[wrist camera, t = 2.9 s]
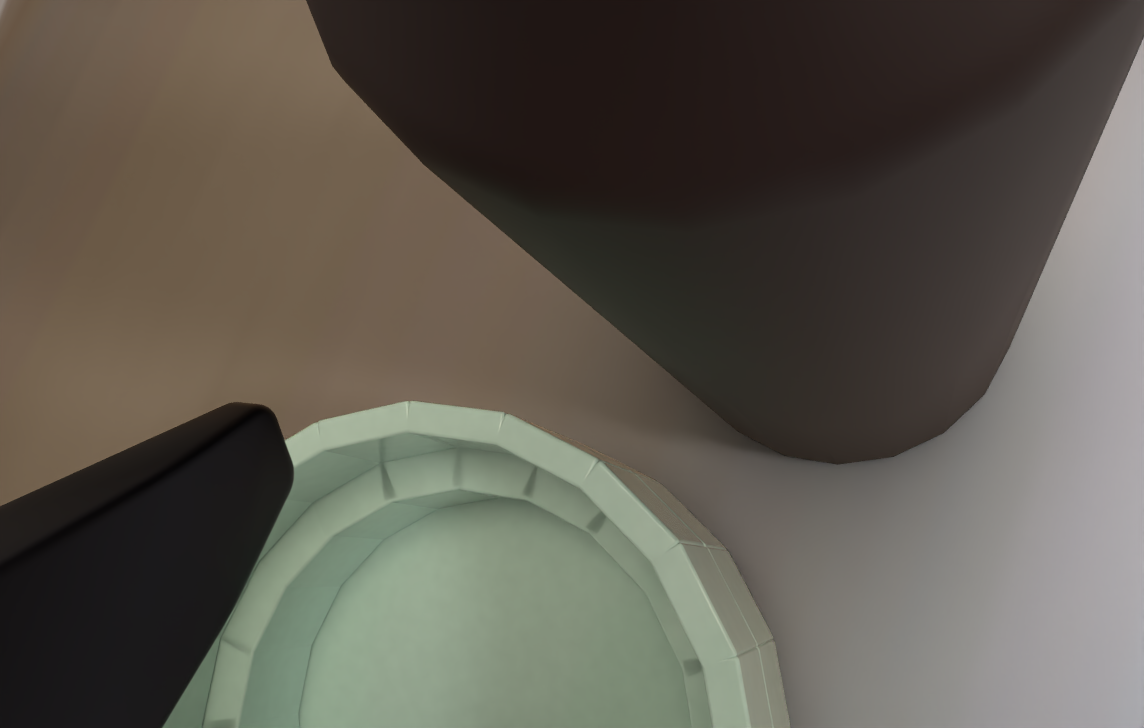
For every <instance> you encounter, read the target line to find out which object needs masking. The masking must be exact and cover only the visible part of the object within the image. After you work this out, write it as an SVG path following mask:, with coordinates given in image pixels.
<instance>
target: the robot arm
mask: <svg viewBox="0 0 1144 728" xmlns="http://www.w3.org/2000/svg"><path fill="white" fill-rule="evenodd" d="M293 481H294V466H293V462H292V459H291V457H290V454H289V451H288V448H287V446H286V443H285V440H284V437H283V435H282V432H281V429H280V426H279V424H278V421H277V418H276V416H275V414H274V413H273V412H272V411H271V410H270V408H268V407H266V406H264V405H259V404H250V403H241V402H233V403H229V404H226V405H224V406H221V407H219V408H217V409H215V410H213V411H210V412H208V413H206V414H204V415H202V416H199V417H197V418H195V419H193V420H190V421H188V422H186V423H184V424H182V425H179V426H177V427H175V428H173V429H171V430H168V431H166V432H164V433H162V434H159V435H157V436H155V437H153V438H151V439H148V440H146V441H144V442H142V443H140V444H137V445H135V446H133V447H131V448H128V449H126V450H124V451H122V452H120V453H117V454H115V455H113V456H111V457H109V458H106V459H104V460H102V461H100V462H97V463H95V464H93V465H91V466H89V467H86V468H84V469H82V470H80V471H78V472H75V473H73V474H71V475H69V476H66V477H64V478H62V479H60V480H58V481H55V482H53V483H51V484H49V485H47V486H44V487H42V488H40V489H38V490H35V491H33V492H31V493H29V494H27V495H24V496H22V497H20V498H18V499H16V500H13V501H11V502H9V503H7V504H4V505H2V506H0V728H163V726H164V725H165V723H166V721H167V720H168V718H169V716H170V715H171V713H172V711H173V710H174V708H175V706H176V705H177V703H178V702H179V700H180V698H181V697H182V695H183V693H184V692H185V690H186V688H187V687H188V685H189V683H190V682H191V680H192V678H193V677H194V675H195V673H196V672H197V670H198V668H199V667H200V665H201V663H202V662H203V660H204V659H205V657H206V655H207V654H208V652H209V650H210V649H211V647H212V645H213V644H214V642H215V640H216V639H217V637H218V635H219V634H220V632H221V630H222V629H223V627H224V625H225V623H226V622H227V620H228V618H229V616H230V615H231V613H232V611H233V609H234V607H235V605H236V603H237V601H238V599H239V598H240V596H241V594H242V592H243V590H244V587H245V585H246V583H247V581H248V579H249V577H250V575H251V573H252V571H253V569H254V567H255V565H256V562H257V560H258V558H259V556H260V554H261V552H262V550H263V548H264V546H265V544H266V542H267V539H268V537H269V535H270V533H271V531H272V529H273V527H274V525H275V523H276V521H277V519H278V516H279V514H280V512H281V510H282V508H283V506H284V504H285V502H286V500H287V498H288V496H289V493H290V491H291V489H292V486H293Z"/></svg>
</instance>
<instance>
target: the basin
mask: <svg viewBox="0 0 1144 728" xmlns="http://www.w3.org/2000/svg"><path fill="white" fill-rule="evenodd" d="M285 443H286V446H287V448H288V451H289V454H290V457H291V459H292V462H293V466H294V481H293V486H292V489H291V491H290V493H289V496H288V498H287V500H286V502H285V504H284V506H283V508H282V510H281V512H280V514H279V516H278V519H277V521H276V523H275V525H274V527H273V529H272V531H271V533H270V535H269V537H268V539H267V542H266V544H265V546H264V548H263V550H262V552H261V554H260V556H259V558H258V560H257V562H256V565H255V567H254V569H253V571H252V573H251V575H250V577H249V579H248V581H247V583H246V585H245V587H244V590H243V592H242V594H241V596H240V598H239V599H238V601H237V603H236V605H235V607H234V609H233V611H232V613H231V615H230V616H229V618H228V620H227V622H226V623H225V625H224V627H223V629H222V630H221V632H220V634H219V635H218V637H217V639H216V640H215V642H214V644H213V645H212V647H211V649H210V650H209V652H208V654H207V655H206V657H205V659H204V660H203V662H202V663H201V665H200V667H199V668H198V670H197V672H196V673H195V675H194V677H193V678H192V680H191V682H190V683H189V685H188V687H187V688H186V690H185V692H184V693H183V695H182V697H181V698H180V700H179V702H178V703H177V705H176V706H175V708H174V710H173V711H172V713H171V715H170V716H169V718H168V720H167V721H166V723H165V725H164V726H163V728H791V727H790V721H789V716H788V711H787V705H786V700H785V694H784V689H783V684H782V678H781V673H780V668H779V662H778V657H777V651H776V646H775V642H774V640H772V639H773V636H772V634H771V632H770V630H769V628H768V626H767V624H766V622H765V621H764V619H763V617H762V615H761V613H760V611H759V609H758V607H757V605H756V603H755V601H754V599H753V598H752V596H751V594H750V592H749V590H748V588H747V586H746V584H745V582H744V580H743V578H742V577H741V575H740V573H739V571H738V569H737V567H736V565H735V563H734V561H733V559H732V557H731V555H730V554H729V552H728V551H727V550H726V548H725V546H724V545H723V544H722V543H721V542H720V541H719V540H718V539H717V538H716V537H715V536H714V535H713V534H712V533H711V532H710V531H709V530H708V529H707V528H706V527H705V526H704V525H703V524H702V523H701V522H700V521H699V520H698V519H697V518H696V517H695V516H694V515H693V514H692V513H691V512H690V511H689V510H688V509H687V508H686V507H685V506H684V505H682V504H681V503H680V502H679V501H678V500H677V499H676V498H675V497H674V496H673V495H672V494H671V493H670V492H669V491H668V490H667V489H666V488H665V487H664V486H663V485H662V484H661V483H658V482H657V481H656V480H655V479H653V478H651V477H649V476H647V475H645V474H643V473H641V472H639V471H637V470H635V469H633V468H631V467H629V466H627V465H625V464H623V463H621V462H619V461H617V460H615V459H613V458H611V457H609V456H607V455H605V454H603V453H601V452H599V451H597V450H595V449H593V448H591V447H589V446H587V445H585V444H582V443H580V442H577V441H575V440H572V439H570V438H568V437H565V436H563V435H560V434H558V433H556V432H553V431H551V430H548V429H546V428H543V427H541V426H539V425H536V424H534V423H531V422H529V421H526V420H524V419H522V418H519V417H517V416H514V415H512V414H508V413H505V412H503V411H495V410H486V409H478V408H470V407H462V406H454V405H446V404H438V403H430V402H422V401H410V402H409V401H403V402H399V403H394V404H390V405H385V406H381V407H376V408H372V409H368V410H363V411H359V412H354V413H350V414H345V415H341V416H336V417H332V418H327V419H323V420H320V421H318V422H316V423H313V424H312V425H310V426H308V427H307V428H305V429H303V430H302V431H300V432H298V433H297V434H295V435H293V436H292V437H290V438H288V439H287V440H285Z"/></svg>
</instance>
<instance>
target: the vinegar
mask: <svg viewBox="0 0 1144 728" xmlns="http://www.w3.org/2000/svg"><path fill="white" fill-rule="evenodd" d="M306 1H307V4H308V6H309V9H310V11H311V14H312V16H313V19H314V21H315V24H316V26H317V29H318V31H319V34H320V36H321V39H322V41H323V44H324V46H325V49H326V51H327V54H328V56H329V59H330V61H331V64H332V66H333V67H334V69H335V70H336V71H337V72H338V74H339V75H340V76H341V77H342V79H343V80H344V81H345V82H346V83H347V84H348V85H349V86H350V87H351V88H352V90H353V91H354V92H355V93H356V94H357V95H358V96H359V97H360V98H361V99H362V100H363V101H364V102H365V103H366V104H367V105H368V106H369V107H370V108H371V110H372V111H373V112H374V113H375V114H376V115H377V116H378V117H379V118H380V119H381V120H382V121H383V122H384V123H385V124H386V125H387V126H388V127H389V128H390V129H391V131H392V132H393V133H394V134H395V135H396V136H397V137H398V138H399V139H400V140H401V141H402V142H403V143H404V144H405V145H406V146H407V147H408V148H409V149H410V150H411V152H412V153H413V154H414V155H415V156H416V157H417V158H418V159H419V160H420V161H421V162H422V163H423V164H424V165H425V166H426V167H427V168H428V169H430V170H431V171H432V172H433V173H434V174H436V175H437V176H438V177H439V178H440V179H441V180H443V181H444V182H445V183H446V184H447V185H448V186H450V187H451V188H452V189H453V190H454V191H456V192H457V193H458V194H459V195H460V196H461V197H463V198H464V199H465V200H466V201H467V202H469V203H470V204H471V205H472V206H473V207H474V208H476V209H477V210H478V211H479V212H480V213H481V214H483V215H484V216H485V217H486V218H487V219H489V220H490V221H491V222H492V223H493V224H494V225H496V226H497V227H498V228H499V229H500V230H501V231H503V232H504V233H505V234H506V235H507V236H509V237H510V238H511V239H512V240H513V241H514V242H516V243H517V244H518V245H519V246H520V247H521V248H523V249H524V250H525V251H526V252H527V253H529V254H530V255H531V256H532V257H533V258H534V259H536V260H537V261H538V262H539V263H540V264H541V265H543V266H544V267H545V268H546V269H547V270H549V271H550V272H551V273H552V274H553V275H554V276H556V277H557V278H558V279H559V280H560V281H561V282H563V283H564V284H565V285H566V286H567V287H569V288H570V289H571V290H572V291H573V292H574V293H576V294H577V295H578V296H579V297H580V298H581V299H583V300H584V301H585V302H586V303H587V304H589V305H590V306H591V307H592V308H593V309H594V310H596V311H597V312H598V313H599V314H600V315H601V316H603V317H604V318H605V319H606V320H607V321H609V322H610V323H611V324H612V325H613V326H614V327H616V328H617V329H618V330H619V331H620V332H622V333H623V334H624V335H625V336H626V337H627V338H629V339H630V340H631V341H632V342H633V343H634V344H636V345H637V346H638V347H639V348H640V349H642V350H643V351H644V352H645V353H646V354H647V355H649V356H650V357H651V358H652V359H653V360H654V361H656V362H657V363H658V364H659V365H660V366H662V367H663V368H664V369H665V370H666V371H667V372H669V373H670V374H671V375H672V376H673V377H674V378H676V379H677V380H678V381H679V382H680V383H682V384H683V385H684V386H685V387H686V388H687V389H689V390H690V391H691V392H692V393H693V394H694V395H696V396H697V397H698V398H699V399H700V400H702V401H703V402H704V403H705V404H706V405H707V406H709V407H710V408H711V409H712V410H713V411H714V412H716V413H717V414H718V415H719V416H720V417H722V418H723V419H724V420H725V421H726V422H727V423H729V424H730V425H731V426H732V427H733V428H734V429H736V430H737V431H738V432H740V433H742V434H744V435H746V436H748V437H750V438H752V439H754V440H756V441H757V442H759V443H761V444H763V445H765V446H767V447H769V448H771V449H773V450H775V451H777V452H779V453H781V454H783V455H786V456H791V457H797V458H803V459H809V460H815V461H821V462H827V463H832V464H844V463H851V462H859V461H866V460H873V459H881V458H888V457H894V456H896V455H898V454H900V453H902V452H904V451H906V450H908V449H910V448H913V447H915V446H917V445H919V444H921V443H923V442H925V441H927V440H930V439H932V438H934V437H936V436H938V435H940V434H942V433H944V432H945V431H946V430H947V429H948V428H949V427H950V426H952V425H953V424H954V423H955V422H956V421H957V420H958V419H959V418H960V417H961V416H962V415H963V414H964V413H965V412H966V411H967V410H969V409H970V408H971V407H972V406H973V405H974V404H975V403H976V402H977V401H978V400H979V399H980V398H981V397H982V396H983V395H984V394H985V393H986V391H987V389H988V387H989V385H990V383H991V381H992V379H993V377H994V375H995V374H996V372H997V370H998V368H999V366H1000V364H1001V362H1002V360H1003V358H1004V356H1005V355H1006V353H1007V351H1008V349H1009V347H1010V345H1011V343H1012V340H1013V338H1014V336H1015V333H1016V331H1017V329H1018V326H1019V324H1020V322H1021V319H1022V317H1023V315H1024V312H1025V310H1026V308H1027V306H1028V303H1029V301H1030V299H1031V296H1032V294H1033V292H1034V289H1035V287H1036V285H1037V282H1038V280H1039V278H1040V276H1041V273H1042V271H1043V269H1044V266H1045V264H1046V262H1047V259H1048V257H1049V255H1050V252H1051V250H1052V248H1053V246H1054V243H1055V241H1056V239H1057V236H1058V234H1059V232H1060V229H1061V227H1062V225H1063V222H1064V220H1065V218H1066V215H1067V213H1068V211H1069V209H1070V206H1071V204H1072V202H1073V199H1074V197H1075V195H1076V192H1077V190H1078V188H1079V185H1080V183H1081V181H1082V179H1083V176H1084V174H1085V172H1086V169H1087V167H1088V165H1089V162H1090V160H1091V158H1092V155H1093V153H1094V151H1095V149H1096V146H1097V144H1098V142H1099V139H1100V137H1101V135H1102V132H1103V130H1104V128H1105V125H1106V123H1107V121H1108V118H1109V116H1110V114H1111V112H1112V109H1113V107H1114V105H1115V102H1116V100H1117V98H1118V95H1119V93H1120V91H1121V88H1122V86H1123V84H1124V82H1125V79H1126V77H1127V75H1128V72H1129V70H1130V68H1131V65H1132V63H1133V61H1134V58H1135V56H1136V54H1137V52H1138V49H1139V47H1140V45H1141V42H1142V40H1143V38H1144V0H306Z"/></svg>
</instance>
